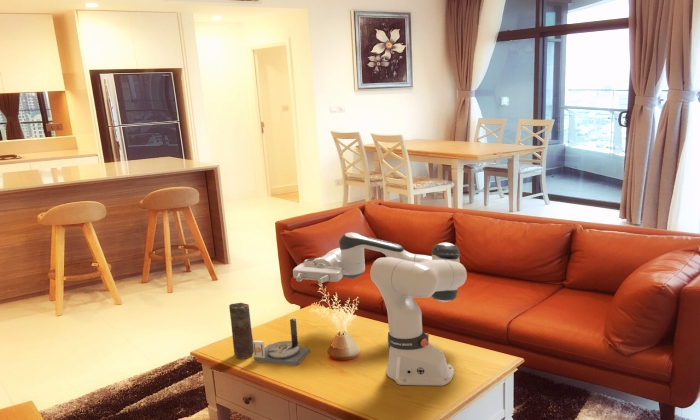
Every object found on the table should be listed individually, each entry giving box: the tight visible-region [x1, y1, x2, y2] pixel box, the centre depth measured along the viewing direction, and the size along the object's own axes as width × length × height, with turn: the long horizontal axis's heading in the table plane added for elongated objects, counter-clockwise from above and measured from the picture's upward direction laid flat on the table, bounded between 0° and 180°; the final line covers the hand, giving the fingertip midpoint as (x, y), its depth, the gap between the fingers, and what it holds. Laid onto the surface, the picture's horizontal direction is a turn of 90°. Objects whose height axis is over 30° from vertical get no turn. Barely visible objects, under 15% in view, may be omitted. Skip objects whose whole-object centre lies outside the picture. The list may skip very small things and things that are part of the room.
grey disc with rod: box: [267, 318, 300, 359], centre depth 210 cm, size 12×12×12 cm
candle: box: [228, 302, 254, 360], centre depth 213 cm, size 8×7×20 cm
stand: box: [253, 340, 311, 367], centre depth 210 cm, size 17×13×8 cm
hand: (308, 280), depth 218 cm, fingers open, 8 cm apart
